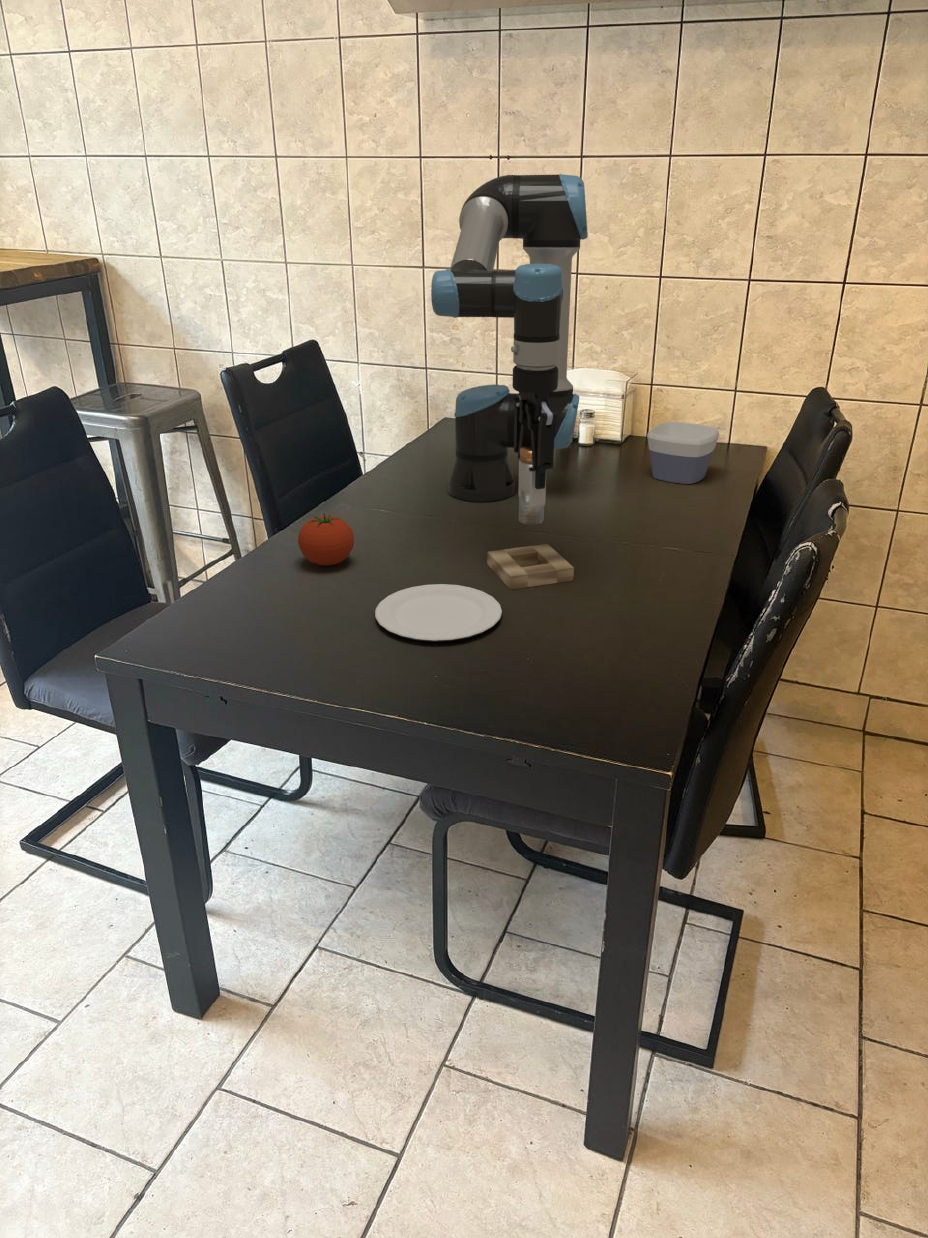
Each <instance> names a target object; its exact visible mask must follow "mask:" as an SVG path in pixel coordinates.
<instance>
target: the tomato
mask: <svg viewBox="0 0 928 1238" xmlns="http://www.w3.org/2000/svg"><path fill="white" fill-rule="evenodd" d="M297 542H298V543H297V544H298V547H299V549H300V552H301V553H302V555H303V556H304V558H306V559H307V560H308V561H309V562H311V563H313V564H315V565H317V566H318V565H319V566H322V567H324V566H326V567H327V566H328V567H329V566H334V565H338V564H339V563H342V562H343V561H344V560H346V559H347V558H348V557H349V556H350V554H351V552H352V550H353V548H354V545H355V543H354V542H355V536H354V531H353V530H352V528H351V526H350V525H349V523H348V522H346V521H345V520H344V519H343V518H341V517H338V516H335V515H331V514H326V513H325V512H323V515H320V516H319V515H315V516H313V517H311V518H310V519H308V520H307V521H306V522H305V523H304V524H303V525H302V526H301V528H300V530H299V534H298V537H297Z"/></svg>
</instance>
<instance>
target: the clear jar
mask: <svg viewBox="0 0 928 1238" xmlns="http://www.w3.org/2000/svg"><path fill="white" fill-rule="evenodd" d="M519 461H520V486H519V485H518V494H519V496H518V497H519V499H518V500H519V501H518V521H519V522H520V523H522V524H525V525H539V524H542V523H543V522H544V520H545V519H544V517H545V515H544V514H545V505H540V506H532V507H531V506H529V495H530V471H529V468H530V467H533V462H532V445H525V446H522V447H521V448H520V459H519Z"/></svg>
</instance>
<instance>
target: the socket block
mask: <svg viewBox="0 0 928 1238" xmlns="http://www.w3.org/2000/svg"><path fill="white" fill-rule="evenodd" d="M486 554H487V556H486V557H487V559H486V560H487V561H486V563H487V565H488V566H489V568H490V569H491V570H492V571H493V572H494V573H495V575H496V576H497V577H498V578H499V579H500V580H501V581H502V582H503V583H504V584H505V586H507V588H508V589H509V590H517V589H518V590H519V589H525V588H532V587H537V586H538V587H539V586H546V585H551V584H558V583H566V582H572V581H574V573H575V566H573V565H572V564H571V563H569V562H568V561H567V560H566V559H565V558H564V557H563V556H561V554H559V552H557V551H556V550H555V549H554V548H552V546H550V545H549V544H548V543H544V544H537V545H535V544H534V545H529V546H520V547H513V548H504V549H499V550H491V551H487V553H486Z"/></svg>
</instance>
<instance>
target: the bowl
mask: <svg viewBox="0 0 928 1238" xmlns="http://www.w3.org/2000/svg"><path fill="white" fill-rule="evenodd" d="M646 436H647V444H648V450H649V451H648V452H649V458H650V463H651V464H650V465H651V472H652V478H653V479H656V480H659V481H662V482H667V483H673V484H674V483H675V484H682V485H694V484H697V483H698V482H700V481H701V480H703V479H704V478H705V476H706V474H707V471H708V468H709V465H710V462H711V460H712V456H713V455H714V451H715V449H716V446H717V444H718V440H719V437H720V432H719V429H718V428H717V427H714V426H709V425H704V424H697V423H690V422H681V421H665V422H661V423H659V424H657V425H655V426H653V427H652V428H650V430H649V431H648V432H647V435H646Z"/></svg>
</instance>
